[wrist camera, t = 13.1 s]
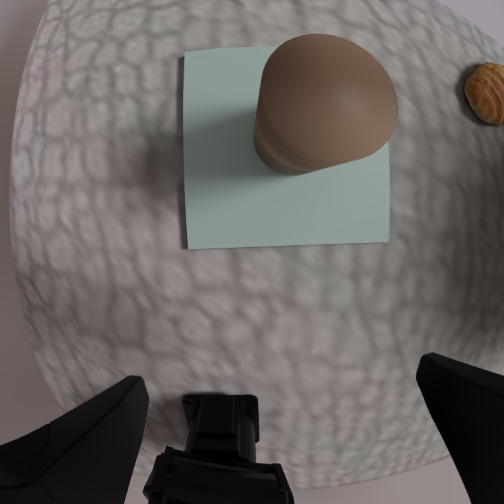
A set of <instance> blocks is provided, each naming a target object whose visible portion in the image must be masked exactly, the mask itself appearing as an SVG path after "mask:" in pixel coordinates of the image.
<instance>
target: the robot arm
mask: <svg viewBox="0 0 504 504" xmlns="http://www.w3.org/2000/svg"><path fill="white" fill-rule="evenodd" d="M416 381H417V383H418V386H419V388H420V390H421V393H422V395H423V398H424V400H425V403H426V405H427V408H428V410H429V413H430V415H431V417H432V419H433V421H434V423H435V425H436V426H437V428H438V430H439V432H440V434H441V436H442V438H443V440H444V442H445V445H446V447H447V449H448V451H449V453H450V455H451V457H452V459H453V461H454V464H455V466H456V468H457V470H458V472H459V475H460V477H461V479H462V482H463V484H464V486H465V489H466V491H467V493H468V496H469V499H470V501H471V504H504V376H503V375H500V374H497V373H493V372H490V371H487V370H484V369H481V368H478V367H475V366H472V365H469V364H466V363H463V362H460V361H457V360H454V359H451V358H448V357H445V356H442V355H439V354H436V353H428V354H424V355H423V356H422V357H421V359H420V363H419V366H418V369H417V373H416ZM187 400H189V401H187ZM251 401H253V402H251ZM182 403H183V407H184V411H185V415H186V419H187V422H188V426H189V432H188V437H187V442H186V447H185V451H181V450H177V449H173V447H169V446H166V449H165V452H164V453H161V455H158V456H156V460H155V463H154V467H153V470H152V472H151V474H150V476H149V478H148V480H147V482H146V484H145V486H144V489H143V494H144V496H145V497H146V498H147V500H148V501H149V503H148V504H294V498H293V495H292V492H291V489H290V487H289V484H288V482H287V479H286V477H285V474H284V472H283V469H282V466H281V464H278V463H273V464H263V463H256V448H255V443H257V442H259V413H258V398H257V397H256V396H191V395H186V396H184V397H183V400H182ZM148 405H149V396H148V392H147V389H146V386H145V383H144V380H143V378H142V377H141V376H133V375H130V376H127V377H126V378H124V379H123V380H121V381H119V382H118V383H116V384H114V385H113V386H111V387H110V388H108V389H106V390H105V391H103V392H101V393H100V394H98V395H96V396H95V397H93V398H91V399H90V400H88V401H86V402H85V403H83V404H81V405H79V406H78V407H76V408H74V409H73V410H71V411H69V412H67V413H66V414H64V415H62V416H60V417H59V418H57V419H55V420H53V421H51V422H50V424H46V425H44V426H43V427H41V428H39V429H37V430H35V431H33V432H31V433H29V434H27V435H25V436H22V437H20V438H18V439H15V440H13V441H10V442H8V443H5V444H3V445H1V446H0V504H124V502H125V498H126V494H127V490H128V487H129V483H130V479H131V476H132V473H133V469H134V466H135V463H136V459H137V456H138V453H139V449H140V446H141V442H142V438H143V432H144V427H145V421H146V415H147V410H148Z"/></svg>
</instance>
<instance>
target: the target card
mask: <svg viewBox="0 0 504 504" xmlns="http://www.w3.org/2000/svg"><path fill="white" fill-rule="evenodd" d="M277 48H278V47H240V48H221V49H209V50H199V51H190V52H185V60H184V88H183V156H184V187H185V208H186V224H187V239H188V249H211V248H237V247H263V246H290V245H318V244H348V243H379V242H389V228H390V168H389V149H388V141H387V142H386V144H385V145H384V146H383V147H382V148H381V149H379V150H378V151H377V152H375V153H374V154H372V155H370V156H368V157H365V158H362V159H359V160H355V161H351V162H347V163H344V164H340V165H336V166H332V167H328V168H325V169H321V170H318V171H314V172H310V173H307V174H303V175H297V176H290V175H284V174H281V173H278V172H276V171H274V170H272V169H271V168H269V167H268V166H267V165H266V164H265V163H264V162H263V161H262V160H261V159H260V157H259V156H258V154H257V152H256V149H255V146H254V141H253V133H254V125H255V118H256V111H257V104H258V97H259V90H260V83H261V77H262V72H263V69H264V66H265V64H266V62H267V60H268V58H269V57H270V55H271V54H272V53H273V52H274V51H275V50H276V49H277ZM376 60H377V59H376Z"/></svg>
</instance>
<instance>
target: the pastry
mask: <svg viewBox="0 0 504 504" xmlns="http://www.w3.org/2000/svg"><path fill="white" fill-rule="evenodd" d="M464 92H465V96H466V97H467V99H468V101H469V104H470V106H471V108H472V109H473V111H474V112H475V114H476V115H477V117H478V118H480V119H482V120H483V121H485V122H487V123H493V124H495V125H504V66H502V65H499V64H494V63H488V62H486V63H485V64H483V65H480V66H479V67H478V68H477V69H476V70H475V71H474V73H473V74H472V75H471V76H470V77H469V79H468V80H467V81H466V83H465V88H464Z"/></svg>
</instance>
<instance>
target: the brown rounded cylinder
mask: <svg viewBox="0 0 504 504" xmlns="http://www.w3.org/2000/svg"><path fill="white" fill-rule="evenodd" d="M397 116H398V104H397V97H396V93H395V90H394V87H393V84H392V82H391V80H390V78H389V76H388V74H387V73H386V71H385V70H384V68H383V67H382V66H381V64H380V63H379V62H378V61H377V60H376V59H375V58H374V57H373V56H372V55H371V54H369V53H368V52H367V51H366V50H364V49H363V48H361V47H360V46H358V45H356V44H355V43H353V42H351V41H348V40H346V39H343V38H340V37H337V36H332V35H327V34H308V35H302V36H299V37H296V38H293V39H291V40H289V41H286V42H285V43H283V44H282V45H280V46H279V47H278V48H277V49H276V50H275V51H274V52H273V53H272V54H271V55H270V57H269V58H268V60H267V62H266V64H265V66H264V69H263V72H262V77H261V83H260V90H259V97H258V104H257V111H256V118H255V125H254V133H253V141H254V146H255V149H256V152H257V154H258V156H259V157H260V159H261V160H262V161H263V162H264V163H265V164H266V165H267V166H268V167H269V168H271V169H272V170H274V171H276V172H278V173H281V174H284V175H290V176H297V175H303V174H307V173H310V172H314V171H318V170H321V169H325V168H328V167H332V166H336V165H340V164H344V163H347V162H351V161H355V160H359V159H362V158H365V157H368V156H370V155H372V154H374V153H375V152H377V151H378V150H379V149H381V148H382V147H383V146H384V145H385V144H386V142H387V141H388V140H389V138H390V137H391V135H392V133H393V131H394V128H395V126H396V121H397Z"/></svg>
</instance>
